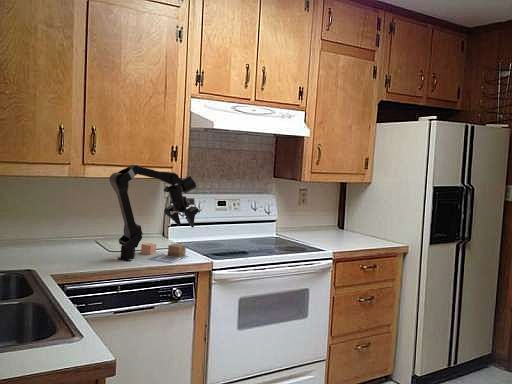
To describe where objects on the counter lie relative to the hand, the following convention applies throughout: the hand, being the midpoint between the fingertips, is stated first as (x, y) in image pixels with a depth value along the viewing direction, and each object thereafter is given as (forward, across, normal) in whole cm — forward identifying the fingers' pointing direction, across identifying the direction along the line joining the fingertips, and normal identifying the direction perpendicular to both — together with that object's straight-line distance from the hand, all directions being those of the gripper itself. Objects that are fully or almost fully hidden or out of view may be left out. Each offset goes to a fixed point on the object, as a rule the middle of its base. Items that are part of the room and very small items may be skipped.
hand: (186, 226), depth 236 cm
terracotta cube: (+6, +10, +19) cm, 22 cm away
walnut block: (+9, -1, +12) cm, 15 cm away
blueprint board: (+8, -2, +17) cm, 19 cm away
